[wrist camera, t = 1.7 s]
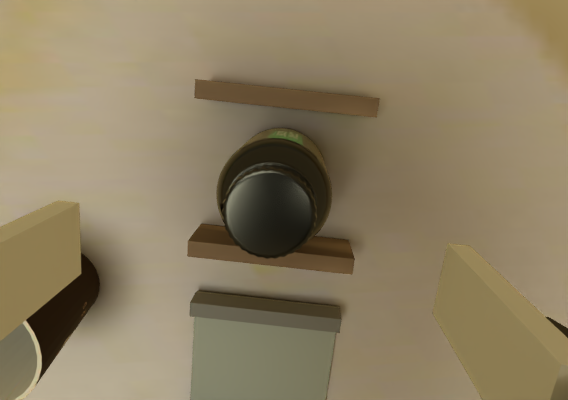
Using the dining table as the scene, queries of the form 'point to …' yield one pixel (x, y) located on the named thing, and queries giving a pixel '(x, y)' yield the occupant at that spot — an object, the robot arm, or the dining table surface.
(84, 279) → the coffee mug
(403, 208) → the dining table surface
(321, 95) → the walnut cradle
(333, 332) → the slate pad
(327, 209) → the supplement bottle
